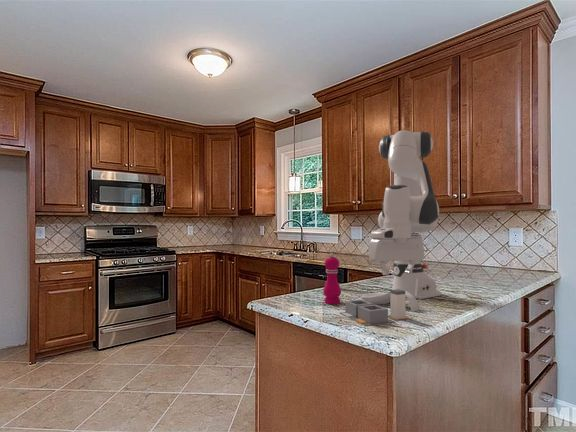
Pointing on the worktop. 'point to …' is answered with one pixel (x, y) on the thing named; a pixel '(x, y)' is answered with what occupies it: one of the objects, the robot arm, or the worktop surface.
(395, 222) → the robot arm
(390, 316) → the deck
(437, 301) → the worktop surface
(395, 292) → the plug
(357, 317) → the port box
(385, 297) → the grey curved arch
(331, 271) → the pepper mill
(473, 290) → the worktop surface
